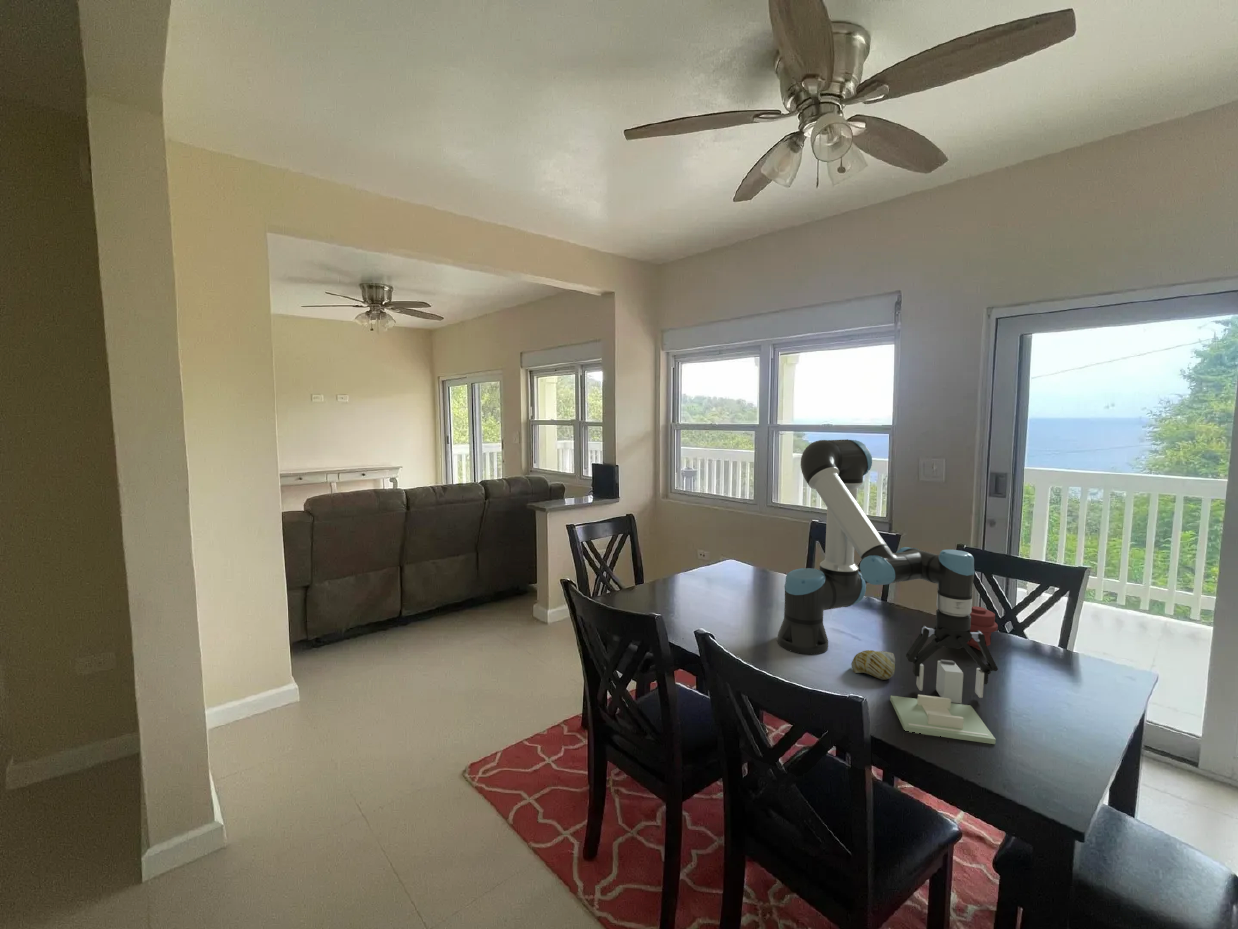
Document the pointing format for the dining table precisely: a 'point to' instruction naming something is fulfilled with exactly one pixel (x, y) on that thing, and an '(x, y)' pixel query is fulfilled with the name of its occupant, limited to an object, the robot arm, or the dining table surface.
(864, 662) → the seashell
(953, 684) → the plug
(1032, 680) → the dining table surface
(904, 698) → the board
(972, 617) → the mechanical component
